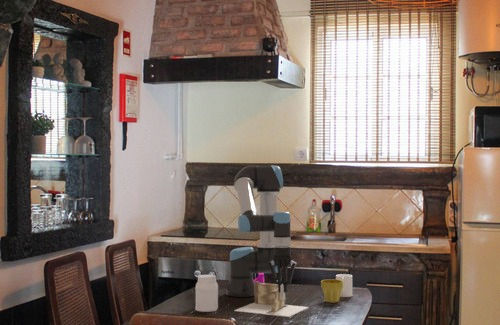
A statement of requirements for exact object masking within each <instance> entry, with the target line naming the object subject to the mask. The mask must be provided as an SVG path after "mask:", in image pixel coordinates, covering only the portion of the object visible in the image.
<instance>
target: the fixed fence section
mask: <svg viewBox="0 0 500 325" xmlns="http://www.w3.org/2000/svg"><path fill="white" fill-rule="evenodd" d="M277 288H278V284H275V283H265V282H264V283H260V282H259V281H255V296H254V302H255V303H259V304H269V305H272V294H271V292H272V291H273V290H275V289H277Z"/></svg>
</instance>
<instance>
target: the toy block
mask: <svg viewBox="0 0 500 325" xmlns="http://www.w3.org/2000/svg"><path fill="white" fill-rule="evenodd" d="M257 274H258V275H257V277H256V278H255V279H253V281H254V284H255V281H259V283H265V273H257Z"/></svg>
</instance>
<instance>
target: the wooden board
mask: <svg viewBox="0 0 500 325" xmlns="http://www.w3.org/2000/svg"><path fill="white" fill-rule="evenodd" d="M271 294H272V312H275V311H277V310H278V309H280V308H281V307H283V306H284V305H287V292H286V293H285V300H281V292H279V291H278V288H277V289H275V290H273V291H272V292H271Z"/></svg>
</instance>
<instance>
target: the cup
mask: <svg viewBox="0 0 500 325" xmlns="http://www.w3.org/2000/svg"><path fill="white" fill-rule="evenodd" d="M335 280H341V281H343V288H342V289H341V294H340V298H350V297H353V275H352V274H347V273H343V274H342V273H340V274H336V275H335Z"/></svg>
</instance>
